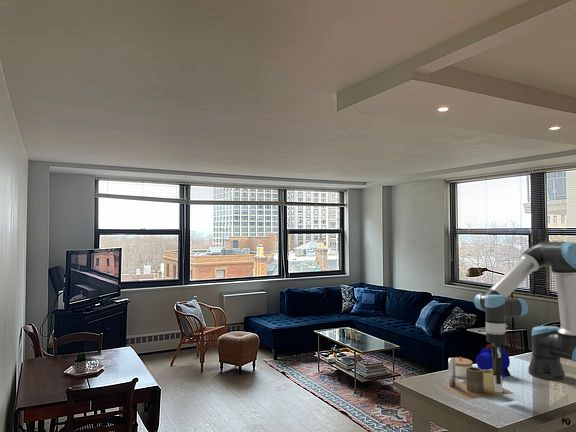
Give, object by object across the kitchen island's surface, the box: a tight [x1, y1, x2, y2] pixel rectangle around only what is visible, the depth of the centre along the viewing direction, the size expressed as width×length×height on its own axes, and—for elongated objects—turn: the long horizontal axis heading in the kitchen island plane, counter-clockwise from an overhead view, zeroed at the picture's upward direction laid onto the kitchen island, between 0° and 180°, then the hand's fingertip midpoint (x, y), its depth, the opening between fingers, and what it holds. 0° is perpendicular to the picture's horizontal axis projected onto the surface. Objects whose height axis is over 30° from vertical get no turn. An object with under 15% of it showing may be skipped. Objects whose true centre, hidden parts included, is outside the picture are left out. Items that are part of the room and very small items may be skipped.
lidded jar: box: [454, 356, 474, 378], centre depth 202 cm, size 11×11×9 cm
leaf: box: [484, 373, 503, 396], centre depth 177 cm, size 7×1×8 cm, turn 65°
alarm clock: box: [475, 343, 511, 379], centre depth 207 cm, size 12×12×15 cm
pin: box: [447, 357, 457, 387], centre depth 186 cm, size 3×3×12 cm
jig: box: [438, 366, 514, 400], centre depth 184 cm, size 24×18×10 cm
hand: (498, 391), depth 174 cm, fingers closed
